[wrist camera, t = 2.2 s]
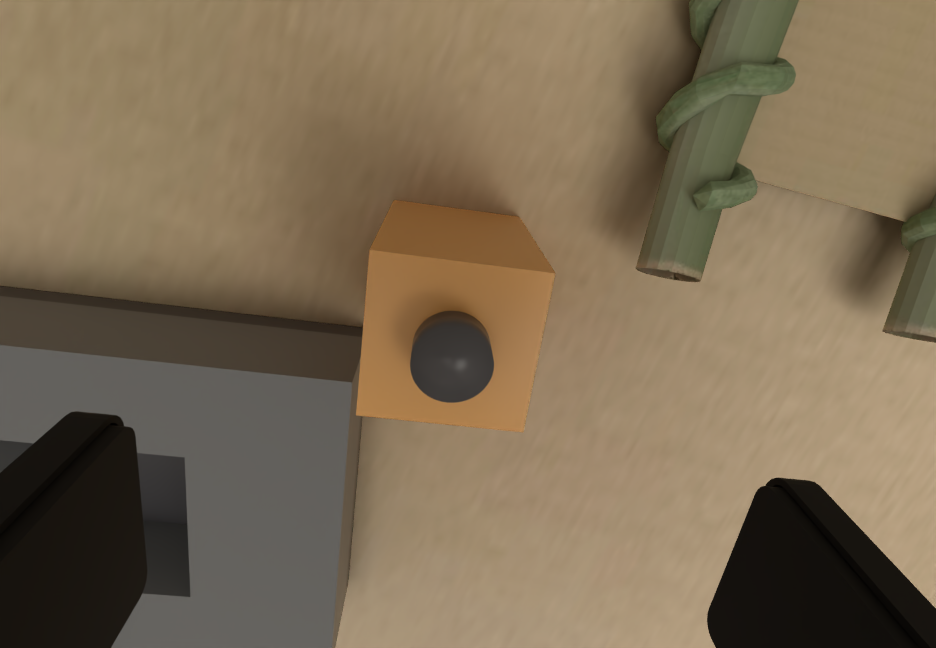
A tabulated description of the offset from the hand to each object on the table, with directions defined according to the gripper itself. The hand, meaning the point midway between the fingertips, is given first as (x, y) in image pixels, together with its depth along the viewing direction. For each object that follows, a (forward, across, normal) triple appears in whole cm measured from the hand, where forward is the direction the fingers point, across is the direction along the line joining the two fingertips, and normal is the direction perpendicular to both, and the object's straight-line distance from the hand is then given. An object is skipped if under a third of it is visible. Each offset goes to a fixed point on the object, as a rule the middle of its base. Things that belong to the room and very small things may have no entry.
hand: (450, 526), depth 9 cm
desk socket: (+16, +12, +11) cm, 22 cm away
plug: (+16, 0, +1) cm, 16 cm away
